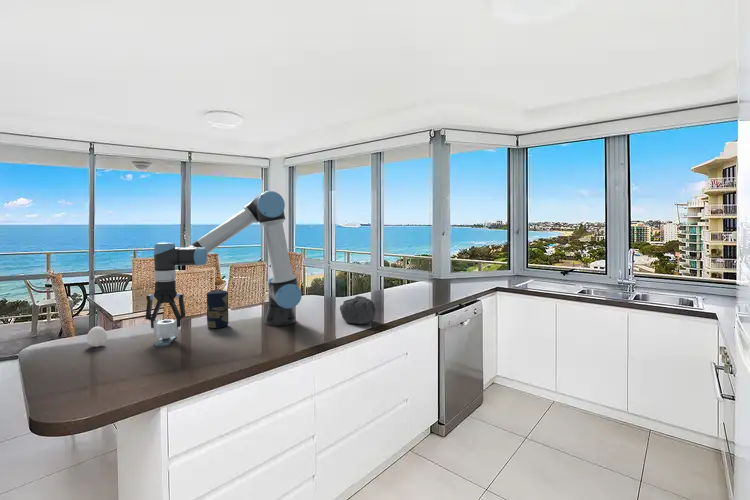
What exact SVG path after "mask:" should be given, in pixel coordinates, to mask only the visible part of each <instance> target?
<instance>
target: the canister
mask: <svg viewBox="0 0 750 500" xmlns="http://www.w3.org/2000/svg"><path fill="white" fill-rule="evenodd" d="M206 324H207V327H208V328H210V329H211V328H212V329H221V328H225V327H227V326H228V325H229V292H228V290H222V289H219V288H218V289H217V288H216V289H213V290H211V291H208V292H206Z"/></svg>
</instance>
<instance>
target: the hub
mask: <svg viewBox="0 0 750 500" xmlns="http://www.w3.org/2000/svg"><path fill="white" fill-rule="evenodd" d="M174 320H175V319H172V318H170V319H162V320H158V321H157V322H156V337H155V338H156V339H158V340H159V339H162V338H171V337H175V324H174Z"/></svg>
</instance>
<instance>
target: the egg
mask: <svg viewBox="0 0 750 500" xmlns="http://www.w3.org/2000/svg"><path fill="white" fill-rule="evenodd" d="M107 339H108V334H107V332H106V329H104V327H101V326H94V327H92V328H91V329H90V330H89V331H88V333H87V335H86V342H87V344H89V345H90V346H92V347H94V348H95V347H96V348H98V347H101V346H102V345H104V344H105V343H106V341H107Z"/></svg>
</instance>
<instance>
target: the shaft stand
mask: <svg viewBox="0 0 750 500" xmlns="http://www.w3.org/2000/svg"><path fill="white" fill-rule="evenodd" d="M177 337H178V335H177V336H175V337H171V338H162V339H159V338H158V340H157V341H156V342H155V343H154V347H165V346H166V347H167V346H170V345H171V344H172V343H173V341H174V340H175V339H176V338H177Z"/></svg>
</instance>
